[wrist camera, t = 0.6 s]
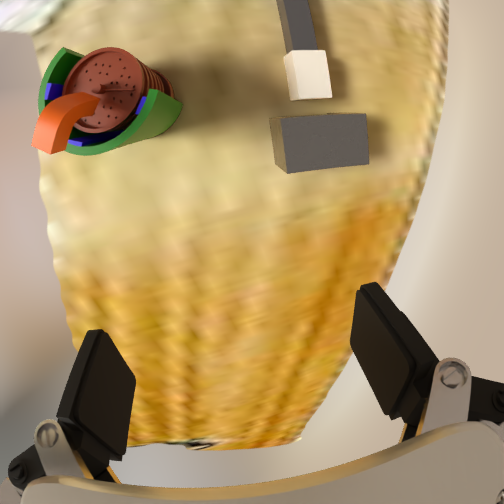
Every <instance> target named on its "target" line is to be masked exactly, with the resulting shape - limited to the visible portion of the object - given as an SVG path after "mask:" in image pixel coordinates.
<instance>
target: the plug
mask: <svg viewBox="0 0 504 504" xmlns="http://www.w3.org/2000/svg"><path fill="white" fill-rule="evenodd" d="M276 1H277V5H278V10H279V15H280V20H281V25H282V30H283V35H284V40H285V46H286V52H287V55H286V56H284V63H285V69H286V75H287V81H288V88H289V95H290V101H294V100H309V99H324V98H332V91H331V84H330V77H329V71H328V64H327V58H326V52H325V50H318V48H317V43H316V37H315V32H314V27H313V23H312V18H311V13H310V9H309V4H308V0H276Z"/></svg>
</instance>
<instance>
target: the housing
mask: <svg viewBox="0 0 504 504" xmlns="http://www.w3.org/2000/svg"><path fill="white" fill-rule="evenodd" d="M269 121H270V128H271V135H272V142H273V149H274V157H275V164H276V165H277V166H278V167H280V168H281V169H282V170H283V171H284V172H286V173H287V174H289V173H296V172H304V171H311V170H319V169H327V168H336V167H345V166H355V165H366V164H369V151H368V134H367V121H366V114H361V113H327V115H313V116H300V117H295V116H286V117H277V118H269Z"/></svg>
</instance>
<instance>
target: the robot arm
mask: <svg viewBox="0 0 504 504" xmlns="http://www.w3.org/2000/svg"><path fill="white" fill-rule="evenodd" d="M350 345H351V348H352V350H353V352H354V354H355V356H356V358H357V360H358V362H359V364H360V366H361V368H362V370H363V372H364V374H365V376H366V378H367V380H368V382H369V384H370V386H371V388H372V390H373V392H374V394H375V396H376V398H377V400H378V402H379V405H380V407H381V409H382V411H383V413H384V414H385V415H389V416H390V418H391V420H394V419H396V418H399V417H402V419H403V421H404V423H405V425H404V428H403V431H402V434H401V437H400V440H399V443H398V444H397V445H395V446H392V447H390V448H387V449H385V450H382V451H379V452H377V453H374V454H371V455H369V456H366V457H363V458H360V459H357V460H354V461H351V462H348V463H346V464H342V465H339V466H335V467H332V468H328V469H325V470H321V471H317V472H313V473H309V474H305V475H300V476H296V477H291V478H286V479H281V480H275V481H269V482H262V483H256V484H247V485H238V486H226V487H209V488H165V487H164V488H163V487H148V486H137V485H128V484H122V483H121V482H120V481H119V479H118V478H117V476H116V475H115V474H114V472H113V470H112V469H111V468H110V466H109V460H114V461H122V455H124V454H125V453H126V447H127V438H128V431H129V424H130V417H131V410H132V404H133V398H134V392H135V386H136V379H135V376H134V374H133V373H132V371H131V370H130V368H129V367H128V365H127V364H126V362H125V361H124V359H123V357H122V356H121V354H120V353H119V351H118V349H117V348H116V346H115V344H114V343H113V341H112V339H111V338H110V336H109V335H108V333H105V332H104V331H103V330H102V329H98V330H89V331H88V332H87V333H86V335H85V338H84V340H83V343H82V345H81V347H80V350H79V352H78V355H77V357H76V360H75V363H74V365H73V368H72V371H71V373H70V376H69V379H68V381H67V384H66V387H65V390H64V393H63V396H62V399H61V402H60V405H59V408H58V412H57V415H56V417H57V418H58V421H57V422H56V421H55V420H52V419H50V420H45V421H42V422H41V423H40V424H39V425H38V426H37V428H36V430H35V432H34V443H35V444H34V445H33V446H31V447H30V448H28V449H27V450H26V451H25V452H23V453H22V454H20V455H19V456H17V457H16V458H14V459H13V460H12V461H11V463H10V465H9V468H8V476H9V479H8V478H7V477H6V478H5V480H4V481H3V482H2V484H1V485H0V504H504V383H499V382H494V381H490V380H486V379H482V378H478V377H474V376H471V371H470V369H469V367H468V366H467V365H466V363H465V362H463V361H461V360H460V359H457V358H446V359H443V360H442V361H439V360H438V358H437V357H436V356H435V354H434V353H433V351H432V350H431V348H430V347H429V346H428V344H427V343H426V342H425V340H424V339H423V338H422V336H421V335H420V334H419V332H418V331H417V330H416V328H415V327H414V326H413V324H412V323H411V322H410V321H409V319H408V318H407V317H406V315H405V314H404V313H403V312H402V311H400V310H399V309H398V308H397V307H396V306H395V304H394V303H393V302H392V300H391V299H390V298H389V296H388V295H387V294H386V293H385V292H384V290H383V289H382V288H381V287H380V285H379V284H378V283H377V282H372V283H368V284H364V285H361V287H360V290H357V292H356V299H355V307H354V315H353V323H352V330H351V337H350Z"/></svg>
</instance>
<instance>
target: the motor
mask: <svg viewBox="0 0 504 504" xmlns="http://www.w3.org/2000/svg"><path fill="white" fill-rule="evenodd" d="M182 106H183V104H182V103H180V102H179V101H177V100H175V99H174V92H173V88H172V86H171V84H170V82H169V81H168V80H167V79H166V78H165V77H164V76H163V75H162V74H161V73H159V72H157V71H155V70H153V69H150V68H148V67H147V66H146V65H144V64H143V63H142V62H141V61H139V60H138V59H137V58H135V57H134V56H133V55H131V54H130V53H129V52H127V51H125V50H123V49H120V48H114V47H107V48H101V49H98V50H95V51H93V52H91V53H89V54H87V55H86V56H84V55H82V54H79V53H77V52H74V51H72V50H69V49H67V48H64V47H63V48H62V49H61V50H60V51H59V52H58V53H57V54H56V56H55V57H54V58H53V60H52V61H51V63H50V64H49V66H48V68H47V70H46V72H45V74H44V77H43V80H42V83H41V86H40V91H39V99H38V109H39V118H38V121H37V124H36V127H35V131H34V136H33V140H32V145H31V146H33V147H35V148H38V149H40V150H42V151H44V152H46V153H49V154H53V153H57V152H60V151H63V150H64V151H66V152H69V153H72V154H76V155H84V156H87V155H96V154H101V153H104V152H107V151H110V150H113V149H116V148H119V147H122V146H125V145H128V144H132V143H135V142H138V141H142V140H145V139H149V138H152V137H155V136H157V135H159V134H161V133H163V132H164V131H166V130H167V129H168V128H169V127H170V126H171V125H172V124H173V123H174V122H175V121H176V119H177V118H178V116H179V114H180V112H181V110H182ZM124 129H126V130H124Z"/></svg>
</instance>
